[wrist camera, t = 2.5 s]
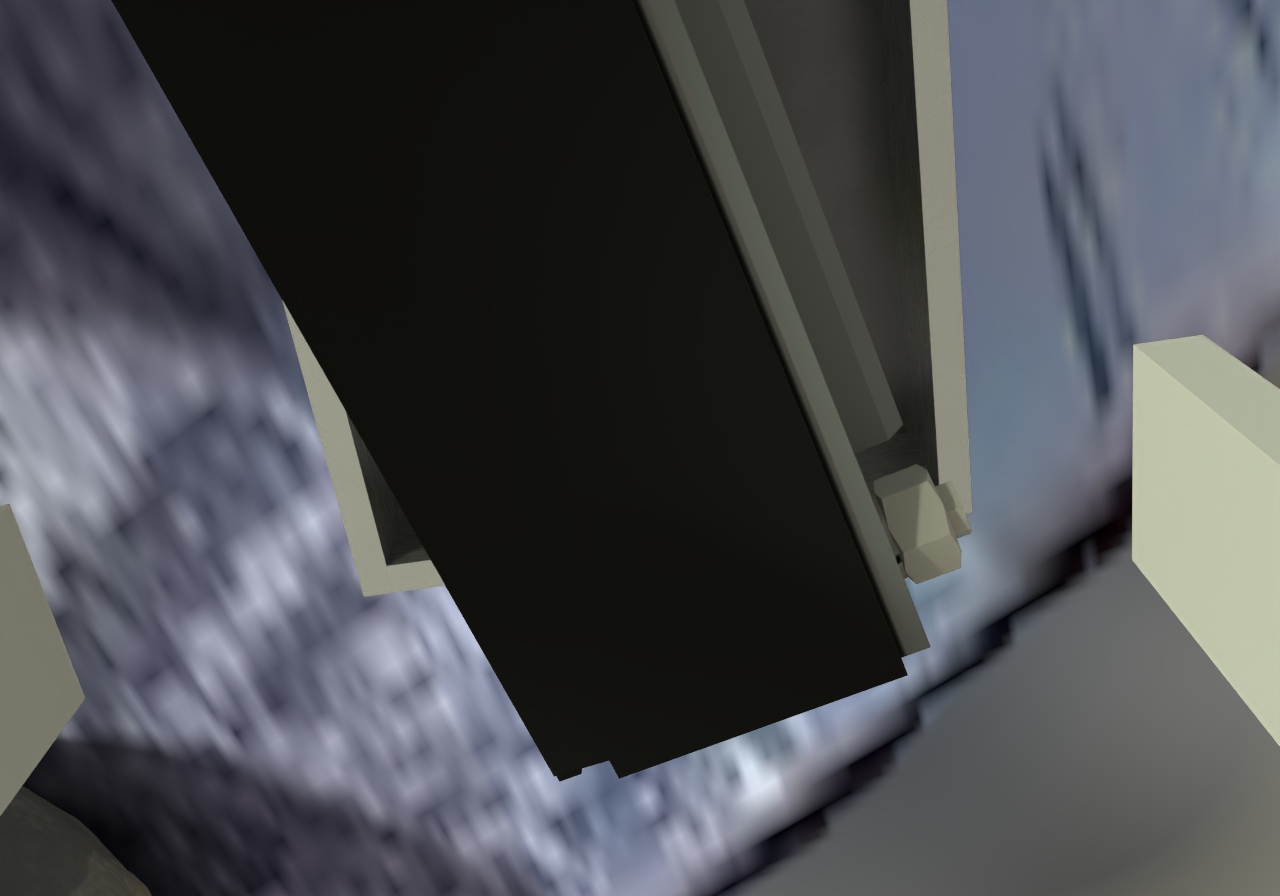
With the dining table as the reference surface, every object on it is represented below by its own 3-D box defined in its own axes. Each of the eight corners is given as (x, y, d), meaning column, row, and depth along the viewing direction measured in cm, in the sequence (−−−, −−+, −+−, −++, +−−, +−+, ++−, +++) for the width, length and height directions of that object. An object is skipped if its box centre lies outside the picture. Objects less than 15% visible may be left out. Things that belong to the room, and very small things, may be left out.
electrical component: (846, 324, 42) (1017, 636, 23) (575, 435, 43) (534, 810, 25) (642, -210, 35) (655, -362, 17) (332, -59, 37) (35, -47, 18)
